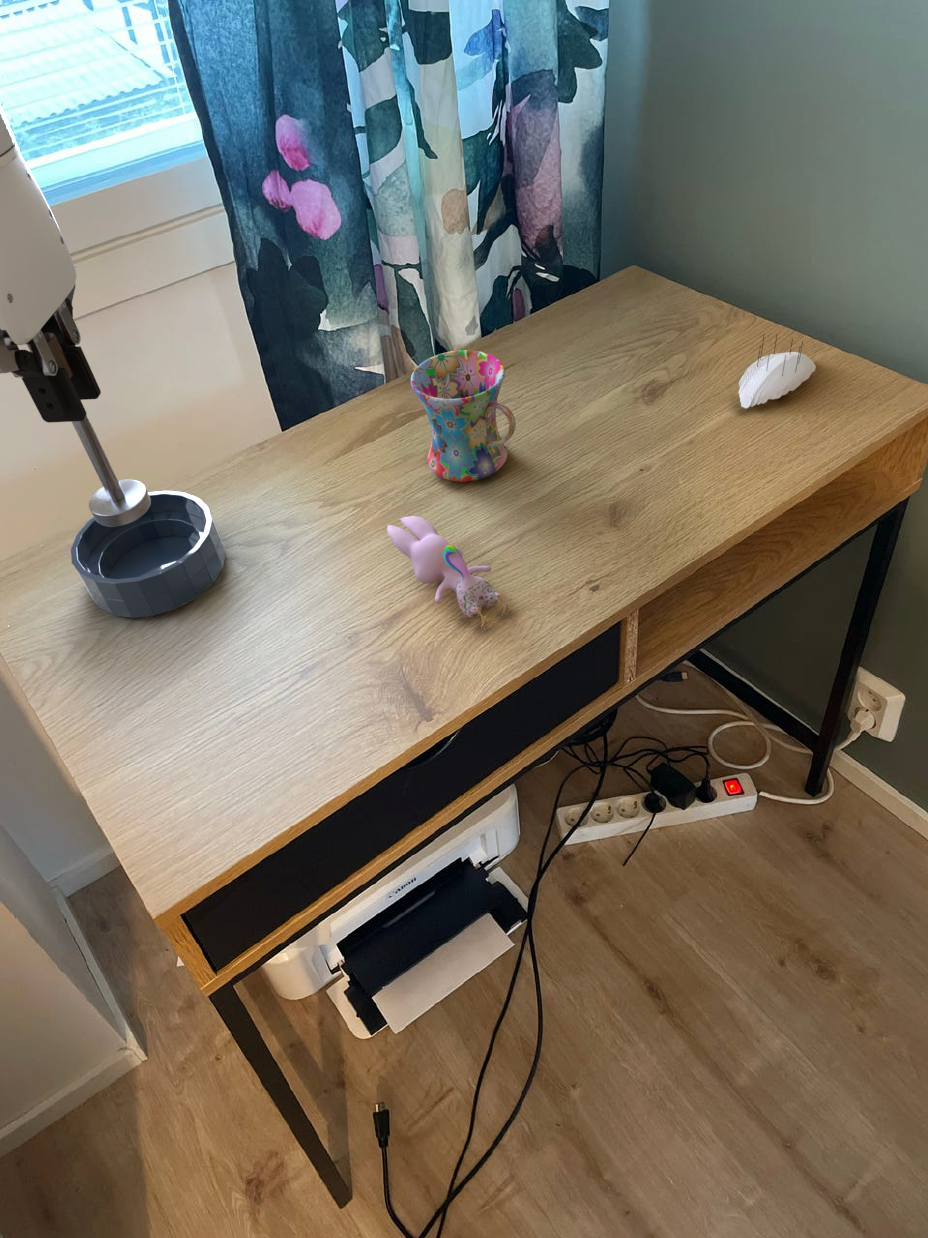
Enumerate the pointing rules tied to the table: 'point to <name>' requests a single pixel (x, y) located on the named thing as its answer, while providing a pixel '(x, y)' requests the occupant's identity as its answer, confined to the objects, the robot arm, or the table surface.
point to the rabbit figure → (445, 567)
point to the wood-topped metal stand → (104, 468)
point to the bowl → (151, 557)
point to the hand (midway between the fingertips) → (73, 406)
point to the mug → (463, 413)
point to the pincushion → (774, 376)
